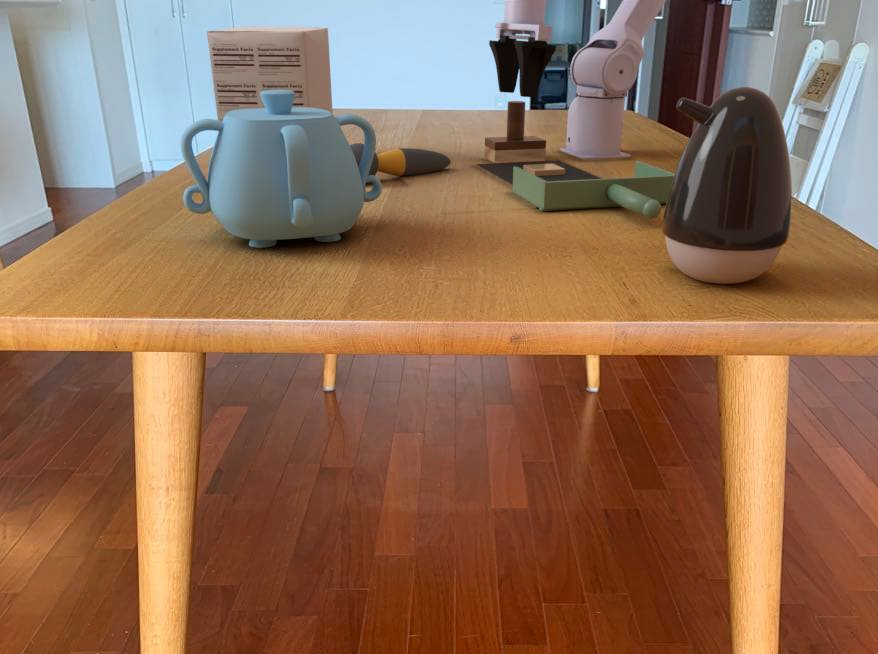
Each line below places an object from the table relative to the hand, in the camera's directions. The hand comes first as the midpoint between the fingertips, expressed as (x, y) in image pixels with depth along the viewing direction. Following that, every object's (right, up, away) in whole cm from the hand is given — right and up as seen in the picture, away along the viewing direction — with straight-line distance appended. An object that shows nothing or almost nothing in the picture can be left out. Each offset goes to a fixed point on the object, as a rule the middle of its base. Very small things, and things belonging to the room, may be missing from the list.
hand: (516, 94), depth 117 cm
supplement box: (-35, -9, +3) cm, 36 cm away
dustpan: (+9, -22, -23) cm, 34 cm away
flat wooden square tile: (+3, -13, -5) cm, 14 cm away
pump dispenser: (+14, -34, -47) cm, 60 cm away
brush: (0, -8, +5) cm, 10 cm away
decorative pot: (-25, -28, -35) cm, 52 cm away
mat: (+3, -13, -5) cm, 15 cm away
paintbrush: (-18, -15, -8) cm, 24 cm away
